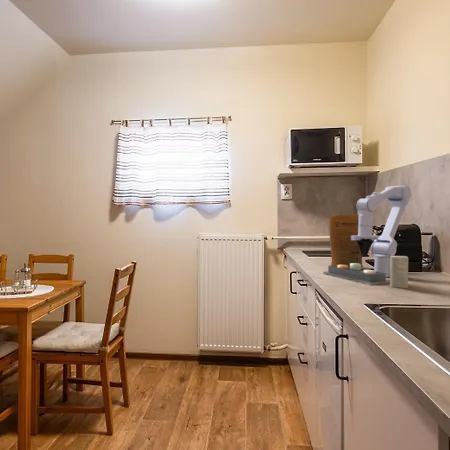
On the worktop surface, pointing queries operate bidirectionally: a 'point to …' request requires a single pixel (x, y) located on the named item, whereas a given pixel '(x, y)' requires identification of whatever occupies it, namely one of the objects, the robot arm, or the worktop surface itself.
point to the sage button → (355, 266)
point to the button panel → (357, 275)
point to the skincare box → (399, 271)
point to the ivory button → (369, 271)
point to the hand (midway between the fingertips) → (364, 256)
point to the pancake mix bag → (344, 240)
